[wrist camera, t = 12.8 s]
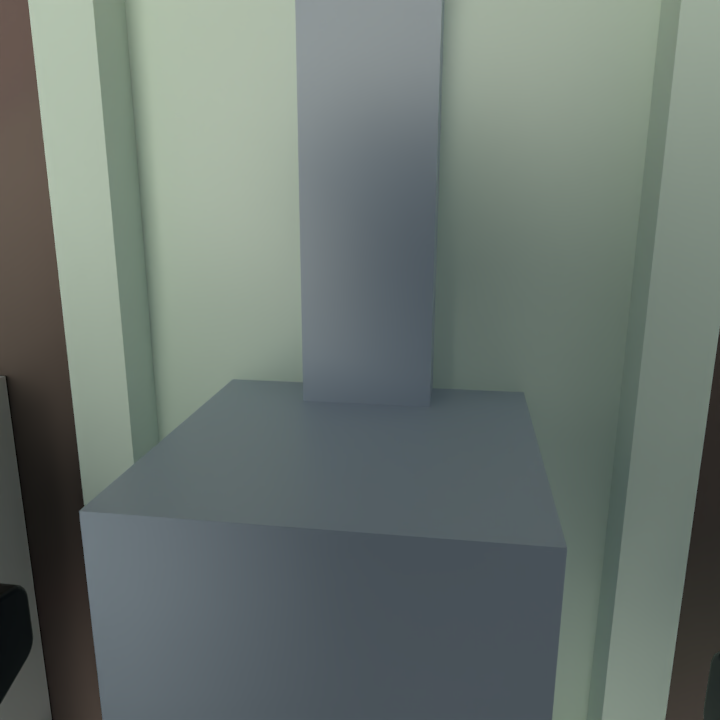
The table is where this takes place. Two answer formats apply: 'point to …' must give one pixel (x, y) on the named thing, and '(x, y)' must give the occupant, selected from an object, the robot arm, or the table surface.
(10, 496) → the frame
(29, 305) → the table surface
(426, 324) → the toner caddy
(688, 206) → the tray
